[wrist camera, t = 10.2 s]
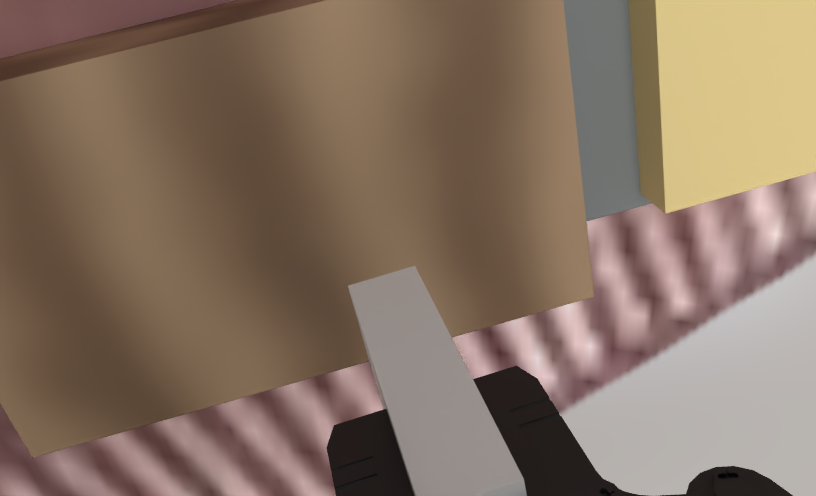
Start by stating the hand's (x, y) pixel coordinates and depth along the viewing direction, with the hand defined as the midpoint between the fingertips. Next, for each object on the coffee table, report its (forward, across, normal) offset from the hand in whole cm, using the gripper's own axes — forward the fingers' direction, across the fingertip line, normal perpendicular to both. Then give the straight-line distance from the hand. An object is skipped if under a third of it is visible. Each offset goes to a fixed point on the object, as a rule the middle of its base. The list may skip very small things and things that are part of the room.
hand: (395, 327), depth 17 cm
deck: (+12, -2, 0) cm, 12 cm away
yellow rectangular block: (+9, +14, 0) cm, 17 cm away
